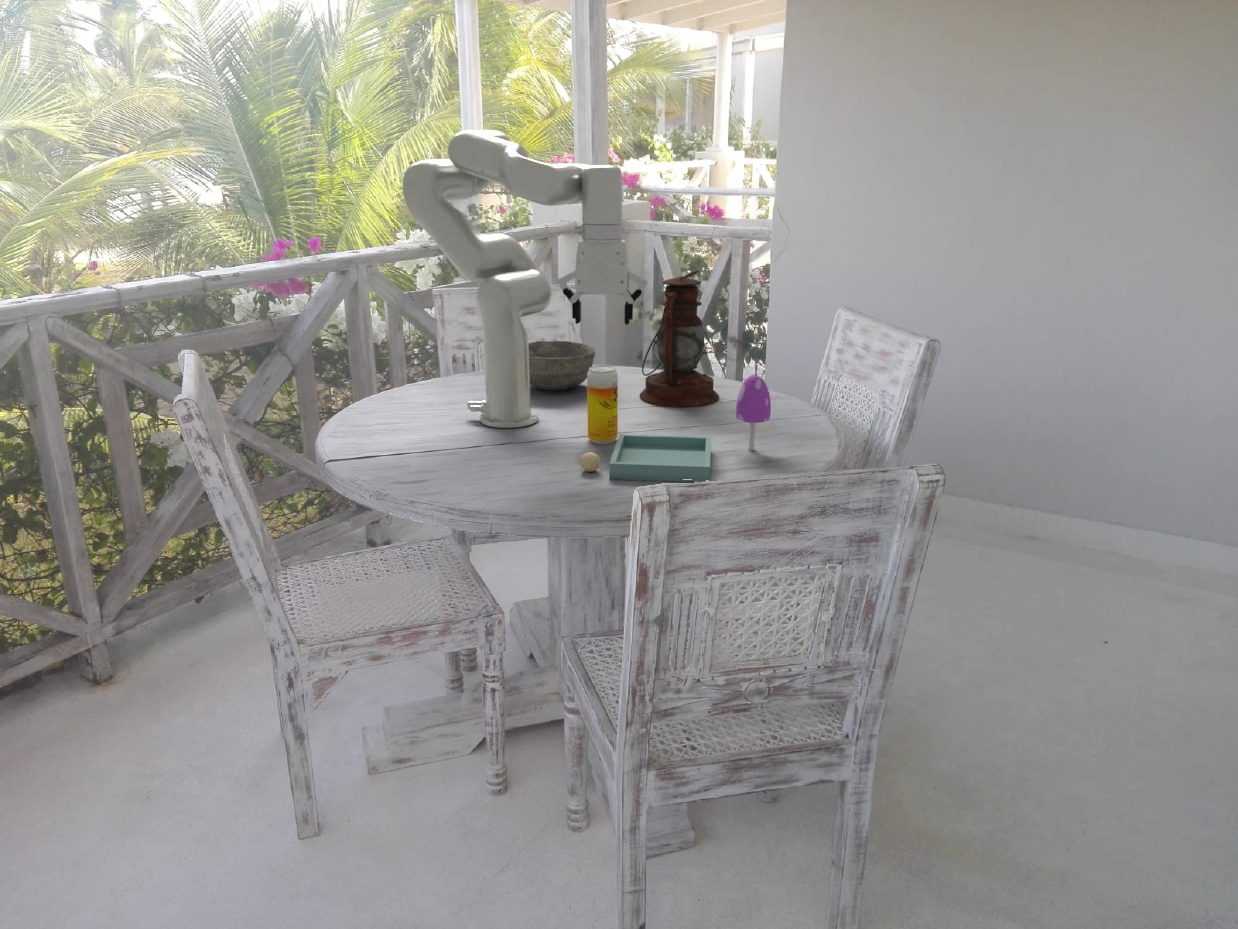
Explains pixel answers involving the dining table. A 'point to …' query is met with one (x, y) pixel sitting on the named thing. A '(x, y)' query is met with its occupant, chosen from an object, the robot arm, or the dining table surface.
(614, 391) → the beer can
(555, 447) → the dining table surface
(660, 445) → the tray
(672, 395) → the lantern
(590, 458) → the cork ball
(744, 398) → the toy
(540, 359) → the bowl
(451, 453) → the dining table surface
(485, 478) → the dining table surface
